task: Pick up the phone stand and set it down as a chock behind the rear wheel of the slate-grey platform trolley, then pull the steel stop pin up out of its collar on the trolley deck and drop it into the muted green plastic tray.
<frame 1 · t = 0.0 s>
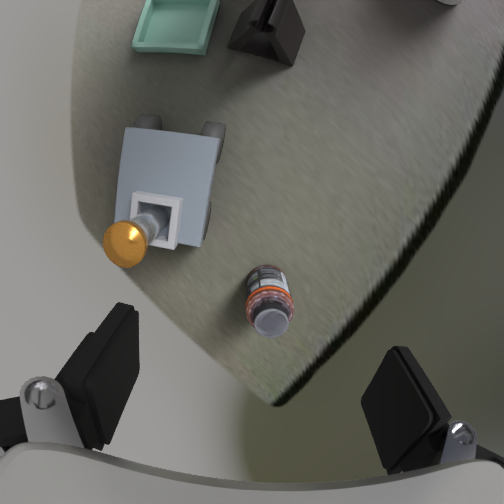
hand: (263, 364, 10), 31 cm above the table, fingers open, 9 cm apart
stop pin: (157, 218, 33), point 7 cm above the table, touching trolley
trolley: (177, 174, 38), on the table
tray: (177, 26, 31), on the table
phone stand: (266, 39, 32), on the table
supplement bottle: (266, 281, 43), on the table
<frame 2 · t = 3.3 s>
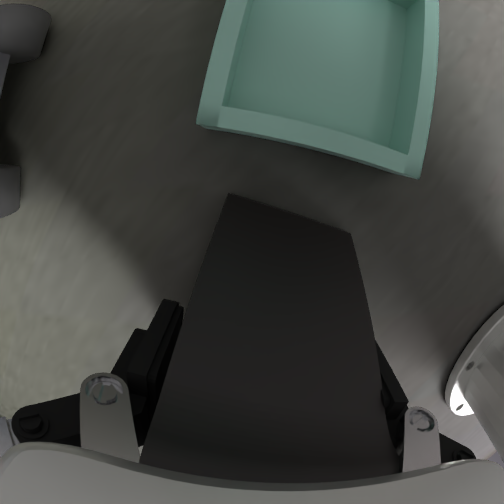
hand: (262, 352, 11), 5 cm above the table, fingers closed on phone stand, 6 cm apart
tray: (325, 50, 11), on the table
phone stand: (260, 292, 15), on the table, touching gripper
when the fingers open (5 cm above the table, at t = 8.5 s): phone stand stays where it is, on the table.
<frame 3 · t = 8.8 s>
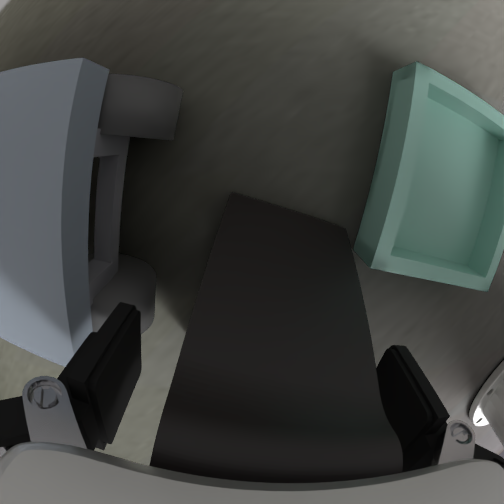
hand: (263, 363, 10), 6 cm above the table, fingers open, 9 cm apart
trolley: (56, 186, 14), on the table
tray: (442, 182, 14), on the table
phone stand: (262, 285, 16), on the table
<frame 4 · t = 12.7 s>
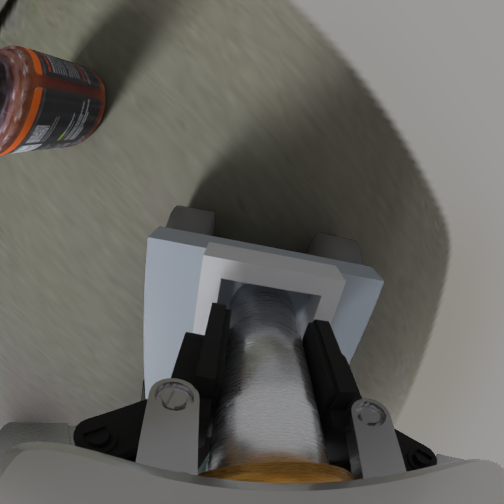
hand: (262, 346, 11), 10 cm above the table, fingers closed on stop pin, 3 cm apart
stop pin: (260, 310, 13), point 7 cm above the table, touching gripper, trolley
trolley: (245, 313, 22), on the table
phone stand: (186, 408, 26), on the table
supplement bottle: (76, 107, 17), on the table
when the fingers open (5 cm above the table, at t = 19.0 s): stop pin drops 1 cm, resting on tray.
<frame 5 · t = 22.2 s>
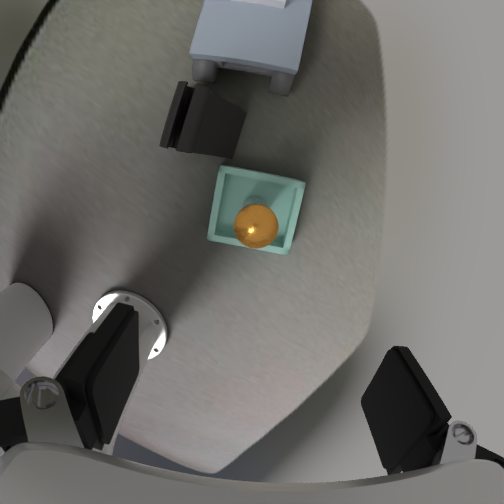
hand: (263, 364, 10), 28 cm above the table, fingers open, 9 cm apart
stop pin: (254, 207, 36), point 1 cm above the table, touching tray
trolley: (253, 38, 29), on the table
tray: (255, 207, 37), on the table
phone stand: (204, 126, 33), on the table
cylinder vase: (30, 310, 43), on the table
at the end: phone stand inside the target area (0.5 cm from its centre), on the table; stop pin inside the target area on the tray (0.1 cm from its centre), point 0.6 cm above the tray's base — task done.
